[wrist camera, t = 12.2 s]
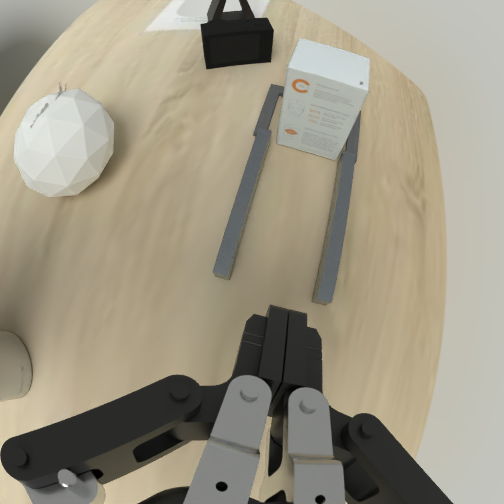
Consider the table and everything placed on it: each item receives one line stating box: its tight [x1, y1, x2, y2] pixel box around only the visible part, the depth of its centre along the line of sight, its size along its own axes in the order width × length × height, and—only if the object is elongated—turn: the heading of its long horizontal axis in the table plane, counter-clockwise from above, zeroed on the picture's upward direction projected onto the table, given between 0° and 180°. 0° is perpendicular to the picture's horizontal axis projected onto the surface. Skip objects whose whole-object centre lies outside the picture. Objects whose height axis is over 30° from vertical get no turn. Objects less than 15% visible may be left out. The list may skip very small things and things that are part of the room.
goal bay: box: [253, 84, 361, 163], centre depth 37 cm, size 14×10×1 cm
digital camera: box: [201, 18, 274, 69], centre depth 38 cm, size 10×5×7 cm, turn 101°
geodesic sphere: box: [14, 82, 114, 197], centre depth 28 cm, size 14×14×14 cm
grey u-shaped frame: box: [213, 128, 355, 305], centre depth 32 cm, size 12×18×2 cm, turn 165°
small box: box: [277, 38, 370, 161], centre depth 30 cm, size 8×6×13 cm
